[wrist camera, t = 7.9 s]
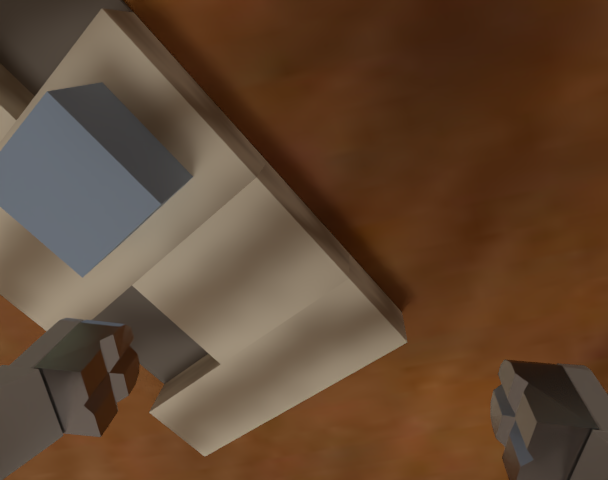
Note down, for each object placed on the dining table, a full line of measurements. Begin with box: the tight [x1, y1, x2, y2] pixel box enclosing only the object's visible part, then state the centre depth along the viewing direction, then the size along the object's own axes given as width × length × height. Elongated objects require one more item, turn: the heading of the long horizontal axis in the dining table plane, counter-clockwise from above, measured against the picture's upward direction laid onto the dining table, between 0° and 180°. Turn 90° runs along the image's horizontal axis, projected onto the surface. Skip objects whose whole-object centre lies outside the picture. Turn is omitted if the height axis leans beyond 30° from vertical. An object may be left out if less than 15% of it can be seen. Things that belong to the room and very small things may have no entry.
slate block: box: [0, 82, 193, 278], centre depth 20 cm, size 6×6×4 cm
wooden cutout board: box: [0, 0, 407, 456], centre depth 24 cm, size 36×18×3 cm, turn 41°
